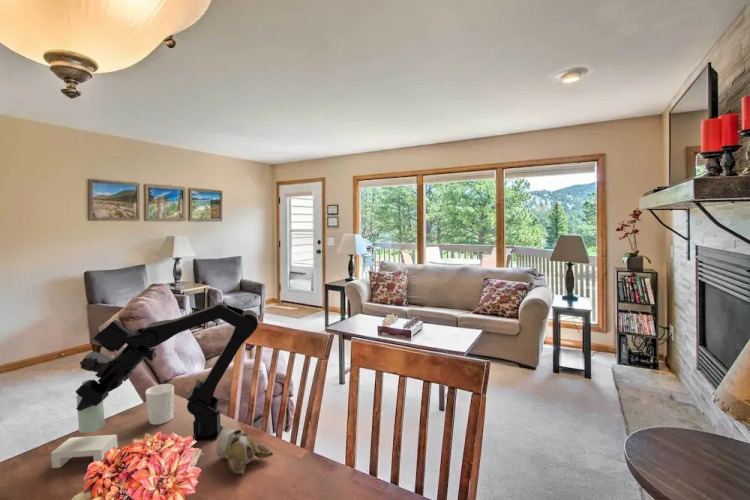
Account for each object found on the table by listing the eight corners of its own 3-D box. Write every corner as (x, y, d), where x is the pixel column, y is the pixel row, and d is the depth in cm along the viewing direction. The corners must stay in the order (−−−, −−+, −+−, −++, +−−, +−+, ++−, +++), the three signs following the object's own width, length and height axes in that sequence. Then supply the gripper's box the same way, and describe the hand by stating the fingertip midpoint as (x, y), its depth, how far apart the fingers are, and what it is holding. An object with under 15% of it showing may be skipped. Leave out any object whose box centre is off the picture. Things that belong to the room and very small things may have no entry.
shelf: (117, 448, 104) (116, 434, 104) (102, 464, 97) (101, 449, 97) (71, 451, 103) (70, 437, 102) (52, 468, 96) (50, 453, 95)
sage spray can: (109, 421, 105) (106, 376, 104) (96, 432, 100) (92, 385, 99) (88, 422, 105) (84, 377, 104) (73, 433, 99) (70, 386, 98)
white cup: (166, 426, 115) (164, 394, 115) (141, 426, 115) (139, 394, 115) (180, 413, 123) (178, 383, 123) (156, 413, 123) (155, 383, 123)
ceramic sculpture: (239, 413, 105) (275, 432, 97) (239, 441, 106) (275, 463, 98) (203, 430, 97) (240, 453, 88) (204, 462, 97) (240, 487, 89)
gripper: (118, 333, 111) (79, 372, 109) (82, 354, 92) (34, 402, 91) (149, 356, 113) (111, 396, 111) (119, 382, 94) (73, 429, 93)
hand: (84, 404), depth 102 cm, fingers closed on sage spray can, 6 cm apart
